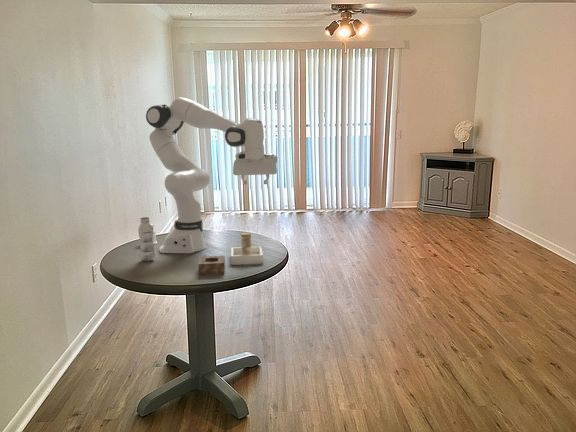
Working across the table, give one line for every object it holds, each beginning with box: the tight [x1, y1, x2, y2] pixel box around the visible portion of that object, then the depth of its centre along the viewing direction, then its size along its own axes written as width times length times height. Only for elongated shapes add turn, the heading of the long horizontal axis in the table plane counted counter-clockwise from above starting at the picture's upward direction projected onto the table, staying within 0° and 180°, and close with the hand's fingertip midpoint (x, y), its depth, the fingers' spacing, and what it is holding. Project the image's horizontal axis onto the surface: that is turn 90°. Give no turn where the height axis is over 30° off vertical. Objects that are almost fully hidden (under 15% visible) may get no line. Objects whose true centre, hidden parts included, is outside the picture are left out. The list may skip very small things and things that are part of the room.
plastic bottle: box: [137, 216, 156, 262], centre depth 215 cm, size 6×7×20 cm
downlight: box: [150, 223, 158, 245], centre depth 245 cm, size 8×7×10 cm
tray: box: [230, 245, 264, 266], centre depth 218 cm, size 14×14×4 cm
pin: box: [240, 232, 252, 255], centre depth 217 cm, size 4×4×11 cm
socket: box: [197, 255, 226, 277], centre depth 202 cm, size 10×10×5 cm
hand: (255, 184), depth 221 cm, fingers open, 8 cm apart
